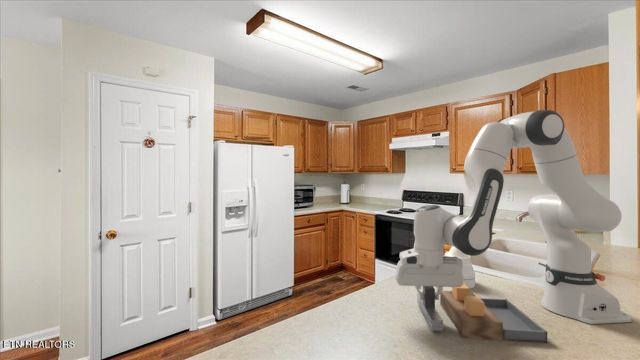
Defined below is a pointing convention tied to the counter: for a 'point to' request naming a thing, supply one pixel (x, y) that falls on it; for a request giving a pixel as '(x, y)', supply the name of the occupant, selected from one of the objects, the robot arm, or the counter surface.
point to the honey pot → (464, 266)
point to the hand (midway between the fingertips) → (428, 298)
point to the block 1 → (460, 292)
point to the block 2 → (474, 306)
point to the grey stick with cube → (430, 308)
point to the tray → (515, 322)
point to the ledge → (471, 319)
